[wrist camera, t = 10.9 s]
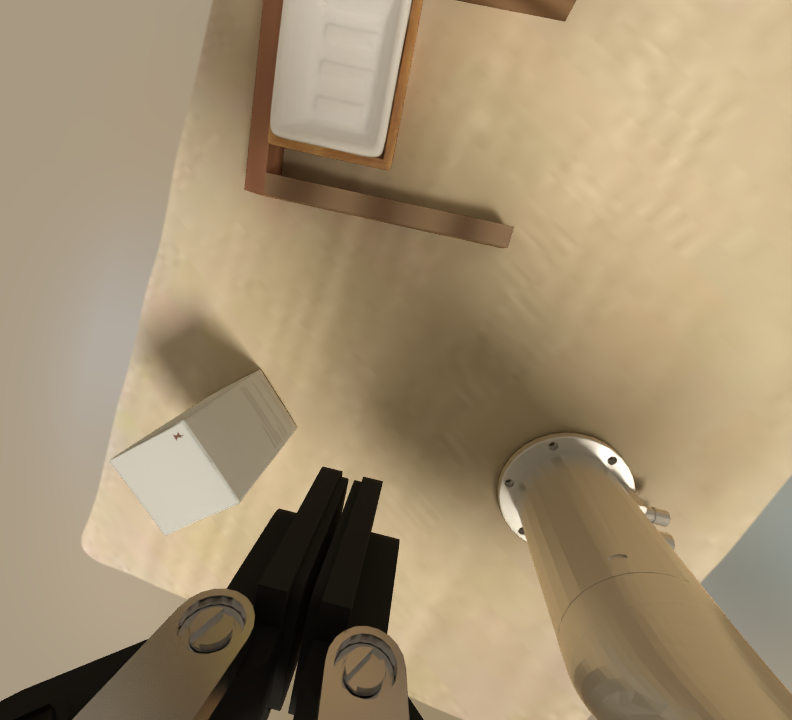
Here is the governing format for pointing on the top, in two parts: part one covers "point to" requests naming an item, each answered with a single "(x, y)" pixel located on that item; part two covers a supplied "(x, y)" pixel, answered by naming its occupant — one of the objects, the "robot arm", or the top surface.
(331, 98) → the soap dish
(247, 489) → the supplement box
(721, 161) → the top surface
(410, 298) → the top surface
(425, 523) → the top surface
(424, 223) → the bay
